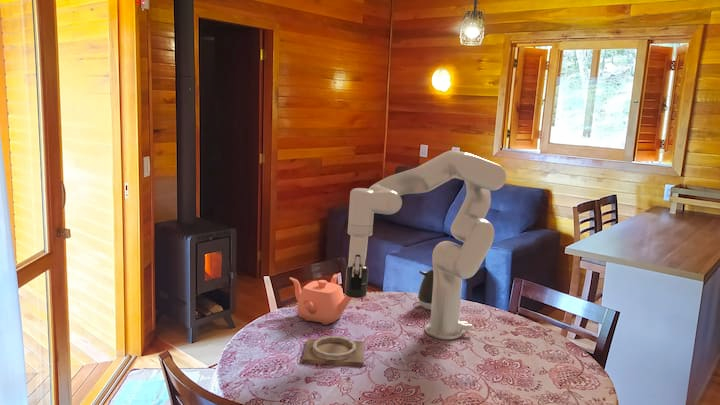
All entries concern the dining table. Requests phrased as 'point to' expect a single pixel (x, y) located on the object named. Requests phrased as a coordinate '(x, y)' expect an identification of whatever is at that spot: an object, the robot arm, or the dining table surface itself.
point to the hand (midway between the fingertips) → (356, 285)
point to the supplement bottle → (363, 290)
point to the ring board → (334, 351)
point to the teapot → (320, 300)
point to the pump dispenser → (426, 289)
